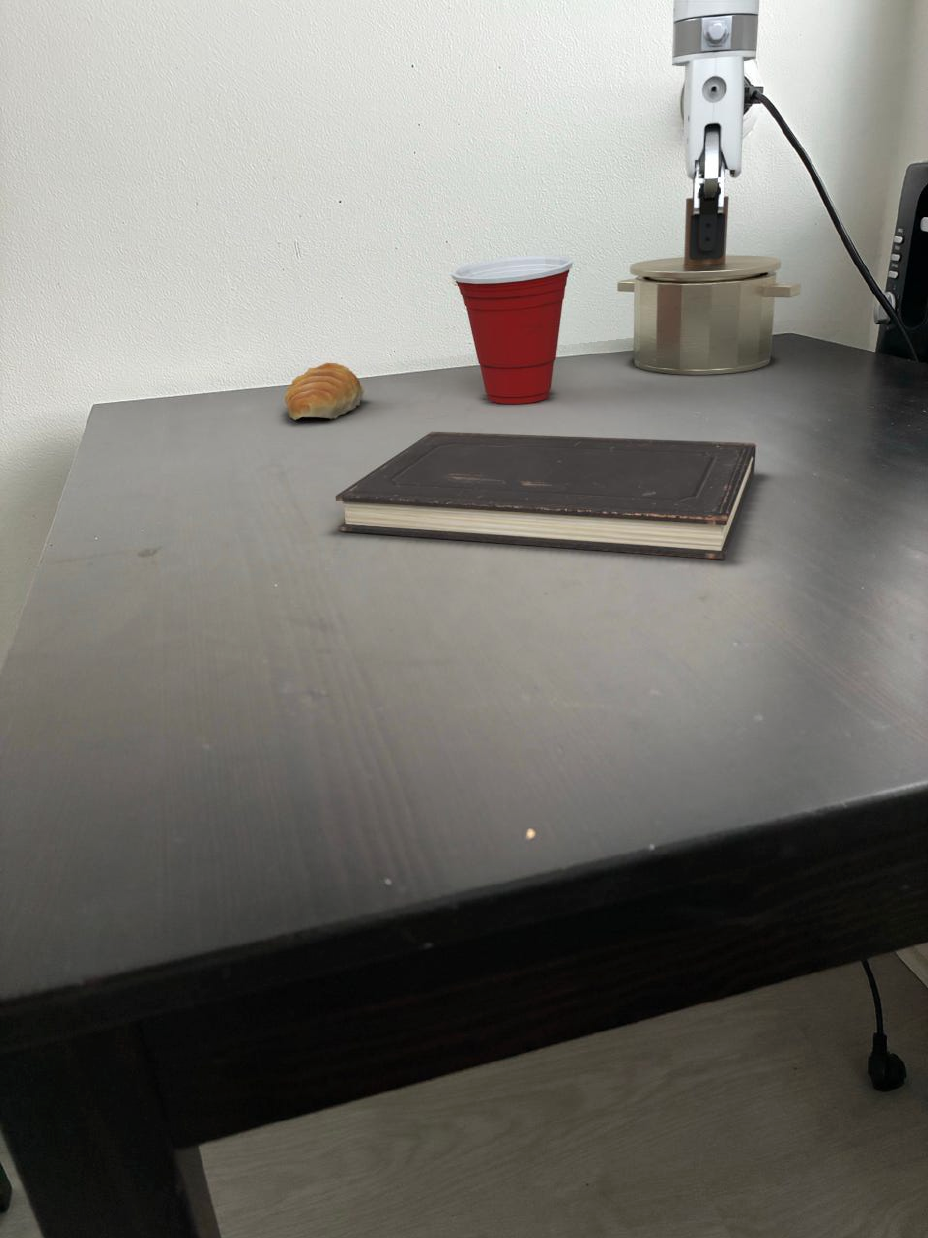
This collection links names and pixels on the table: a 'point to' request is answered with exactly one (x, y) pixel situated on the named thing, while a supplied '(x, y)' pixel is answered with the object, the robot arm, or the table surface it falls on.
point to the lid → (704, 262)
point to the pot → (704, 323)
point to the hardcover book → (559, 492)
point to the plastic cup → (515, 322)
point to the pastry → (324, 392)
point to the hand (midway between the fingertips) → (705, 254)
